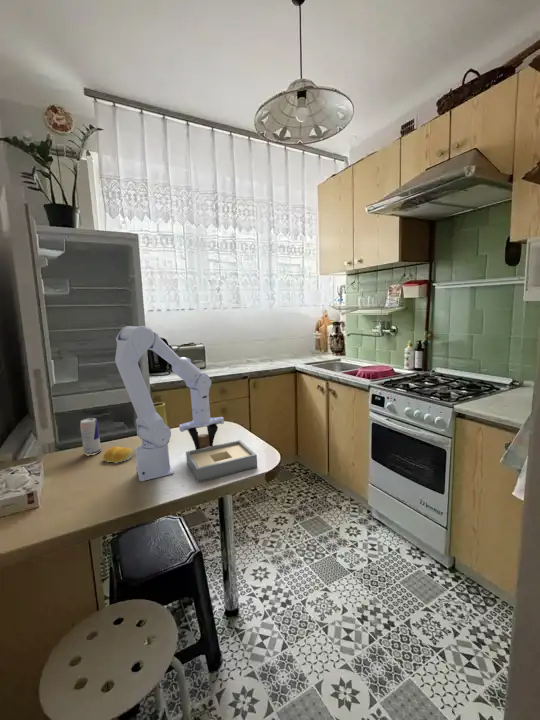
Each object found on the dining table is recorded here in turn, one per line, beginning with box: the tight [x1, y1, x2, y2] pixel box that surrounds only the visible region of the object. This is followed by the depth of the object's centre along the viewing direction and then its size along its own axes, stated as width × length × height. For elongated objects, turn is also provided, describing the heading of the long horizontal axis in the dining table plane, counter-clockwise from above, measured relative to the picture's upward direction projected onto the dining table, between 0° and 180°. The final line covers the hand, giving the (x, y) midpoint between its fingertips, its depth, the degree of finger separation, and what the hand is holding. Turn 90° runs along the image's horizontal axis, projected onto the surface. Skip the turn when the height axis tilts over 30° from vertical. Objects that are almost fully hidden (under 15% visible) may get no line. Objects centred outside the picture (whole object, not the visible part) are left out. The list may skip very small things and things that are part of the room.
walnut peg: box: [198, 433, 210, 449], centre depth 119 cm, size 4×4×6 cm
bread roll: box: [102, 446, 134, 464], centre depth 119 cm, size 8×9×4 cm
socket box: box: [185, 439, 258, 483], centre depth 109 cm, size 18×14×4 cm
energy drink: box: [79, 417, 102, 454], centre depth 124 cm, size 5×5×12 cm
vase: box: [153, 401, 171, 441], centre depth 132 cm, size 6×6×14 cm
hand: (204, 447), depth 119 cm, fingers closed on walnut peg, 4 cm apart
